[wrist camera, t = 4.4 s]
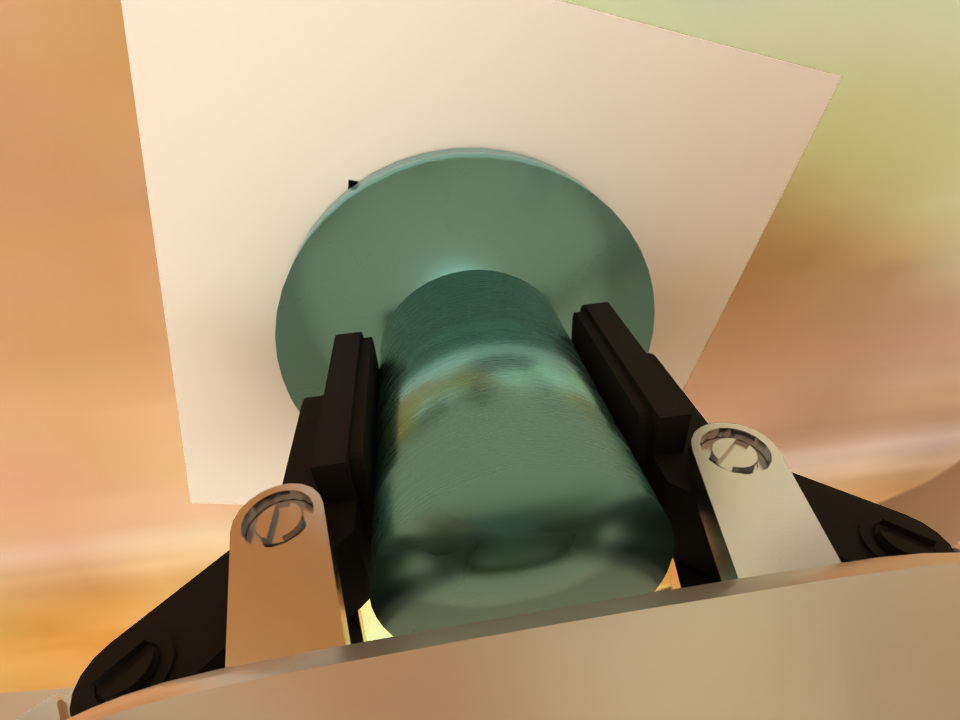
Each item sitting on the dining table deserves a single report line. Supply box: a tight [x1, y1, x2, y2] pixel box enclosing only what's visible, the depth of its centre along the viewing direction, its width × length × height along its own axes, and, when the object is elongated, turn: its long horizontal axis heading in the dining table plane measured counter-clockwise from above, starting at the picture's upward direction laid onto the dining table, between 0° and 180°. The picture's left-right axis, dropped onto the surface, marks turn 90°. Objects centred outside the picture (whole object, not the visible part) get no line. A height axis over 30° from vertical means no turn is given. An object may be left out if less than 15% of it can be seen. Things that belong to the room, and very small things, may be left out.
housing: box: [121, 0, 842, 504], centre depth 15 cm, size 14×14×5 cm
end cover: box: [275, 148, 674, 637], centre depth 12 cm, size 9×9×12 cm
